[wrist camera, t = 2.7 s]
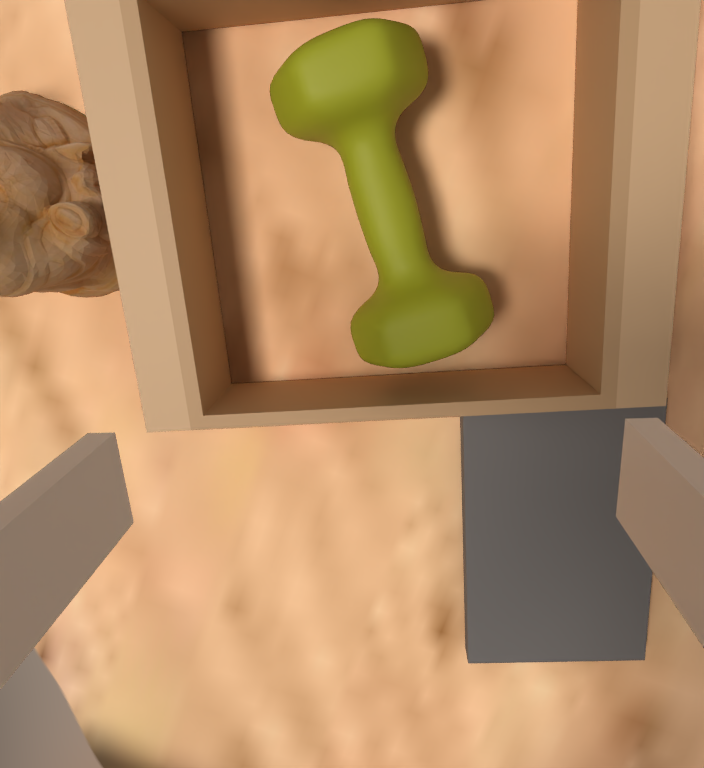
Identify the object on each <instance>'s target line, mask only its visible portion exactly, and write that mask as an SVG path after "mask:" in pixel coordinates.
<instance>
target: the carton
mask: <svg viewBox="0 0 704 768" xmlns="http://www.w3.org/2000/svg"><path fill="white" fill-rule="evenodd" d="M470 1H479V0H64V2H65V7H66V12H67V18H68V23H69V28H70V33H71V39H72V44H73V49H74V54H75V59H76V65H77V70H78V75H79V80H80V86H81V91H82V96H83V101H84V106H85V112H86V117H87V122H88V127H89V133H90V138H91V143H92V148H93V154H94V159H95V164H96V169H97V174H98V180H99V185H100V190H101V195H102V201H103V206H104V211H105V216H106V221H107V227H108V232H109V237H110V242H111V248H112V253H113V258H114V263H115V268H116V274H117V279H118V284H119V289H120V295H121V300H122V305H123V310H124V316H125V321H126V326H127V331H128V336H129V342H130V347H131V352H132V357H133V363H134V368H135V373H136V378H137V383H138V389H139V394H140V399H141V404H142V410H143V415H144V420H145V425H146V431H147V432H166V431H185V430H205V429H224V428H244V427H263V426H283V425H303V424H322V423H342V422H361V421H381V420H400V419H420V418H440V417H459V416H479V415H498V414H518V413H537V412H557V411H577V410H596V409H616V408H635V407H655V406H666V401H667V389H668V378H669V366H670V355H671V343H672V331H673V320H674V308H675V297H676V285H677V274H678V262H679V250H680V239H681V227H682V216H683V204H684V193H685V181H686V169H687V158H688V146H689V135H690V123H691V111H692V100H693V88H694V77H695V65H696V54H697V42H698V30H699V19H700V7H701V0H578V8H577V38H576V69H575V100H574V130H573V161H572V192H571V222H570V253H569V284H568V315H567V345H566V365H550V366H533V367H515V368H497V369H480V370H462V371H445V372H427V373H410V374H392V375H375V376H357V377H340V378H322V379H305V380H287V381H270V382H252V383H235V384H232V383H231V376H230V369H229V362H228V355H227V348H226V341H225V334H224V327H223V320H222V313H221V306H220V299H219V292H218V285H217V278H216V271H215V264H214V256H213V249H212V242H211V235H210V228H209V221H208V214H207V207H206V200H205V193H204V186H203V179H202V172H201V165H200V158H199V151H198V144H197V137H196V130H195V123H194V116H193V109H192V102H191V95H190V88H189V81H188V74H187V66H186V59H185V52H184V45H183V38H182V32H186V31H195V30H205V29H214V28H224V27H233V26H243V25H252V24H262V23H271V22H280V21H290V20H299V19H309V18H318V17H328V16H337V15H347V14H356V13H366V12H375V11H385V10H394V9H404V8H413V7H422V6H432V5H441V4H451V3H460V2H470Z"/></svg>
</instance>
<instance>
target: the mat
mask: <svg viewBox="0 0 704 768" xmlns="http://www.w3.org/2000/svg"><path fill="white" fill-rule="evenodd" d="M666 409H667V401H666V406H655V407H635V408H616V409H596V410H577V411H557V412H537V413H518V414H498V415H479V416H460V428H461V472H462V516H463V560H464V604H465V648H466V653H467V659H468V663H514V662H568V661H622V660H645V651H646V639H647V628H648V616H649V605H650V593H651V581H652V570H651V568H650V567H649V565H648V564H647V562H646V561H645V559H644V558H643V556H642V555H641V553H640V552H639V550H638V549H637V547H636V546H635V544H634V543H633V541H632V540H631V538H630V537H629V535H628V534H627V532H626V531H625V529H624V528H623V526H622V525H621V523H620V522H619V520H618V519H617V517H616V510H617V499H618V489H619V479H620V468H621V458H622V447H623V437H624V427H625V419H629V418H659V419H660V420H661V421H662V422H663V423H664V424H665V420H666Z"/></svg>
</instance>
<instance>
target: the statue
mask: <svg viewBox="0 0 704 768" xmlns="http://www.w3.org/2000/svg"><path fill="white" fill-rule="evenodd" d="M119 290H120V289H119V284H118V279H117V274H116V268H115V263H114V258H113V253H112V248H111V242H110V237H109V232H108V227H107V221H106V216H105V211H104V206H103V201H102V195H101V190H100V185H99V180H98V174H97V169H96V164H95V159H94V154H93V148H92V143H91V138H90V133H89V127H88V122H87V117H86V116H85V115H84V114H82V113H80V112H78V111H77V110H75V109H73V108H71V107H69V106H67V105H65V104H62V103H59V102H56V101H53V100H49V99H46V98H43V97H41V96H39V95H36V94H32V93H29V92H25V91H12V92H9V93H6V94H3V95H1V96H0V297H18V296H22V295H27V294H30V293H32V292H60V293H64V294H67V295H70V296H77V297H99V296H104V295H107V294H110V293H112V292H114V291H119Z"/></svg>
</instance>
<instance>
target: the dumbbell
mask: <svg viewBox="0 0 704 768" xmlns="http://www.w3.org/2000/svg"><path fill="white" fill-rule="evenodd" d="M427 81H428V65H427V60H426V56H425V52H424V48H423V45H422V41H421V39H420V37H419V34H418V33H417V31H416V30H415V29H414V28H412V27H411V26H409V25H407V24H404V23H400V22H396V21H391V20H386V19H375V18H372V19H363V20H359V21H355V22H352V23H349V24H346V25H343V26H341V27H338V28H336V29H333V30H331V31H328V32H326V33H323V34H321V35H319V36H317V37H315V38H313V39H311V40H309V41H308V42H306V43H304V44H303V45H302V46H300V47H299V48H298V49H297V50H295V51H294V52H293V53H292V54H291V55H290V56H289V57H288V59H287V60H286V61H285V62H284V64H283V65H282V66H281V67H280V69H279V70H278V71H277V73H276V74H275V75H274V77H273V80H272V82H271V84H270V96H271V101H272V104H273V107H274V110H275V113H276V115H277V118H278V120H279V122H280V124H281V126H282V128H283V129H284V130H285V131H286V132H287V133H288V134H290V135H291V136H293V137H295V138H299V139H302V140H306V141H314V142H322V143H325V144H328V145H330V146H332V147H333V148H334V149H335V150H337V152H338V153H339V154H340V156H341V158H342V161H343V164H344V167H345V171H346V176H347V181H348V185H349V189H350V192H351V196H352V199H353V202H354V206H355V209H356V213H357V216H358V219H359V222H360V225H361V228H362V231H363V234H364V236H365V239H366V242H367V245H368V248H369V250H370V253H371V255H372V257H373V260H374V262H375V264H376V267H377V270H378V274H379V282H378V287H377V289H376V291H375V292H374V294H373V295H372V296H371V297H370V298H369V299H368V300H367V301H366V302H365V303H364V304H363V305H362V306H361V307H360V308H359V309H358V310H357V312H356V313H355V314H354V316H353V319H352V321H351V334H352V338H353V341H354V344H355V347H356V350H357V352H358V354H359V356H360V357H361V358H362V359H363V360H364V361H366V362H368V363H370V364H374V365H379V366H384V367H391V368H407V367H414V366H418V365H423V364H426V363H430V362H433V361H436V360H439V359H443V358H446V357H448V356H451V355H454V354H456V353H458V352H460V351H462V350H464V349H466V348H467V347H469V346H470V345H471V344H473V343H474V342H475V341H476V340H477V339H478V338H479V337H480V336H481V335H482V334H483V333H484V332H485V331H486V330H487V329H488V328H489V326H490V325H491V323H492V321H493V318H494V308H493V304H492V301H491V297H490V294H489V291H488V288H487V286H486V284H485V283H484V281H483V280H482V279H481V278H480V277H478V276H477V275H474V274H471V273H464V272H450V271H446V270H443V269H441V268H439V267H438V266H437V265H436V264H434V262H433V261H432V259H431V258H430V255H429V253H428V249H427V245H426V240H425V235H424V230H423V226H422V222H421V218H420V214H419V210H418V206H417V202H416V198H415V195H414V192H413V189H412V186H411V183H410V180H409V177H408V174H407V171H406V168H405V166H404V163H403V160H402V158H401V155H400V153H399V150H398V147H397V144H396V139H395V127H396V123H397V120H398V118H399V116H400V115H401V113H402V112H403V111H404V110H405V109H406V108H407V107H408V106H409V105H410V104H411V103H412V102H413V101H414V100H416V99H417V98H418V97H419V96H420V94H421V93H422V91H423V90H424V89H425V87H426V84H427Z"/></svg>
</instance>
